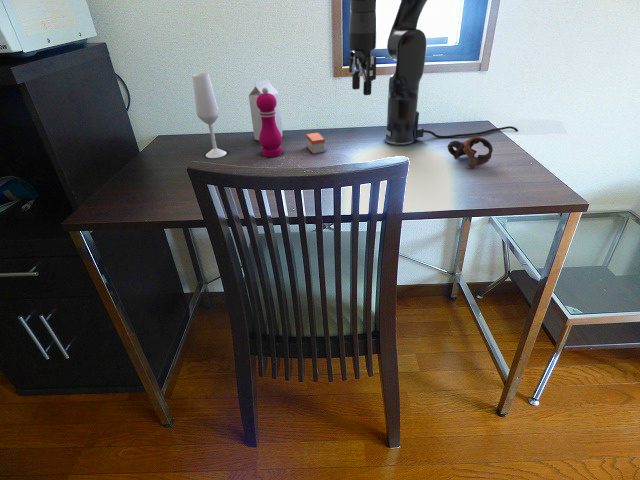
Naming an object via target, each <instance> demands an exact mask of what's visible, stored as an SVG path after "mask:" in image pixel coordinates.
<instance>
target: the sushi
mask: <svg viewBox="0 0 640 480" xmlns="http://www.w3.org/2000/svg"><path fill="white" fill-rule="evenodd" d="M305 138H306V148H307V149H308V150H309V151H310V152H311V153H312V154H318V153H324V152H326V147H325V146H326V145H325V143H326V139H325V138H324V137H323V136H322V135H321V134H320V133H319V132H312V133H306V134H305Z"/></svg>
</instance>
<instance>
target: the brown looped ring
mask: <svg viewBox="0 0 640 480" xmlns="http://www.w3.org/2000/svg"><path fill="white" fill-rule="evenodd" d="M479 143H482V146H483V147H485V148H487V150H488V152H487V153H486V154H478V155H477V156H475V155H476V154H477V152H478V151H477V150H475V149H473V148H472V147H473V146H474V145H477V144H479ZM493 148H494V147H493V145H492V144H491V142H490V141H488V139H486V138H484V137H481V136H473V137H472V136H471V137H470V138H468V139H467V140H465V141H462V142H461V141H458V140H452V141H450V142H449V143H448V144H447V151H448V152H449V154H450V155H452V156H453V158H454V159H455V160H457V159H459V158H460V157H463V156H467V158H468V159H469V160H470V162H468V164H467V167H468V168H470V169H474V168H476V167H479V166H481V165H484V164H486V163H488V162H489V160H491V159H492V153H493V151H494V149H493Z"/></svg>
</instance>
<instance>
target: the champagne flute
mask: <svg viewBox="0 0 640 480" xmlns="http://www.w3.org/2000/svg"><path fill="white" fill-rule="evenodd" d="M191 76H192V85H193V86H192V87H193V94H194V95H193V96H194V102H195V110H196V111H195V112H196V116H197V118H198V119H199V120H201V122H203V123H205V124H207V125H208V129H209V134H210V139H211V146H212V149H210V151H208V152H207V153H206V154H205V157H206V158H208V159H217V158H218V159H219V158H222V157H225V156H226V155H227V154H228V153H227V151H225V150H223V149H221V148H218V147H217V141H216V135H215V132H214V127H213V126H214V123H216V121H217V119H218V118H219V115H220V109H219V106H218V102H217V98H216V95H215V90H214V87H213V83H212V79H211V76H210V74H209V73H208V72H199V73H193V74H192V75H191Z"/></svg>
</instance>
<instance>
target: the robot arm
mask: <svg viewBox="0 0 640 480" xmlns="http://www.w3.org/2000/svg"><path fill="white" fill-rule="evenodd" d="M427 2H428V0H400V2H399V6H398V8H397V11H396V15H395V16H394V20H393V24H392V26H391V28H390V31H389V34H388V37H387V41H386V50H387V51H386V52H387V54H388V56H389V57H390V58H391V59H392V60H394V61H395V62H396V63H395V71H394V73H393V74H392V75H390V76H389V78H388V89H387V91H388V93H387V107H386V108H387V109H386V125H385V127H386V128H384V134H385V137H384V140H385V142H386V143H387V144H389V145H393V146H408V145H411V144H413V143H416V142H417V140H418V139H419V138H424V133H426V134H430V135H432V136H434V137H435V138H439V139H449V138H450V139H451V138H457V137H458V138H459V137H470V136H471V137H472V136H480V135H485V134H487V133H488V134H489V133H491V132H496V131H497V132H498V131H503V130H509V129H511V130H514V131H515V132H519V130H518V128H517V127H516V126H512V125H511V126H509V125H508V126H502V127H497V128H491V129H488V130H487V129H486V130H483V131H478V132H471V133H470V132H469V133H458V134H457V133H456V134H450V135H439V134H436V133H435V132H434V131H432V130H428V129H425V128H423V127H421V126H420V125H419V120H420V112H419V111H418V102H419V93H420V92H419V91H420V82H421V80H422V78H423V75H424V70H425V64H426V56H427V49H428V41H427V37H426V34H425V32H424V31H423V30H421V29H419V28H418V25H419V22H420V17H421V15H422V13H423V9H424V8H425V5H426V4H427ZM377 7H378V0H350V11H349V12H350V13H349V27H348V28H349V29H348V33H349V35H348V36H349V37H348V46H349V47H348V49H349V50H350V51H349V53H348V54H349V55H348V56H349V58H348V59H349V60H348V72H349V73H350V76H351V78H352V79H351V88H352V90H360V88H361V76H362V79H363V90H362V92H363V93H362V94H363V96H371V94H372V84H373V83H372V82H373V81H375V80H376V79H377V56H372V53H371V52H372V51H374V50H376V48H377V34H378V33H377V31H378V30H377V29H378V17H377V16H378V15H377V10H378V9H377ZM417 138H418V139H417Z"/></svg>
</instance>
